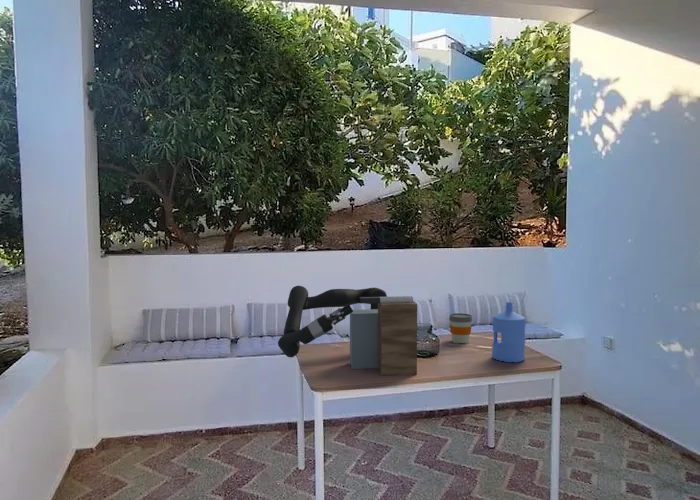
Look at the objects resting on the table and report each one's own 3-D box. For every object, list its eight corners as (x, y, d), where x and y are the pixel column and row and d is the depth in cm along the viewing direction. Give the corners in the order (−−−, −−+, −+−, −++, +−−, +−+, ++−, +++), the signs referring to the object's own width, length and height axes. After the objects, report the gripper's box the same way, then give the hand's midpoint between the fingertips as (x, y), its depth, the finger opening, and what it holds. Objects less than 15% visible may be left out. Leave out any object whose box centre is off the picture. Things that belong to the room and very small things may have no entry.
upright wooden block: (377, 368, 245) (377, 300, 242) (411, 367, 246) (411, 299, 244) (381, 375, 234) (381, 304, 231) (416, 374, 235) (417, 304, 233)
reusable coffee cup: (451, 344, 289) (452, 317, 288) (446, 339, 301) (447, 313, 300) (474, 344, 289) (474, 317, 288) (468, 338, 302) (468, 313, 301)
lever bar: (359, 302, 237) (359, 297, 237) (411, 301, 240) (411, 296, 240) (360, 303, 234) (360, 298, 234) (413, 302, 237) (413, 297, 237)
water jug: (526, 356, 264) (527, 301, 263) (522, 364, 250) (523, 306, 248) (494, 353, 271) (495, 299, 269) (489, 360, 257) (490, 304, 255)
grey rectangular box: (349, 362, 254) (349, 309, 252) (390, 361, 256) (390, 308, 254) (352, 369, 244) (351, 313, 242) (394, 367, 246) (394, 312, 244)
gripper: (323, 330, 242) (353, 311, 243) (325, 337, 228) (357, 317, 228) (315, 316, 241) (345, 298, 242) (316, 322, 227) (348, 303, 228)
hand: (351, 307), depth 235 cm, fingers open, 8 cm apart
